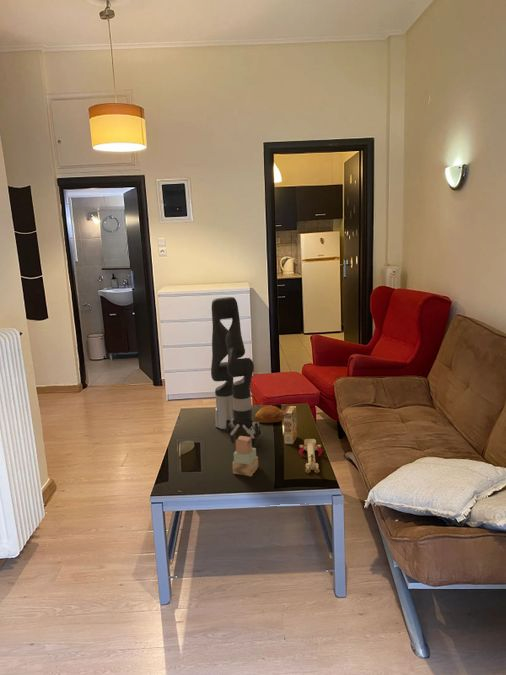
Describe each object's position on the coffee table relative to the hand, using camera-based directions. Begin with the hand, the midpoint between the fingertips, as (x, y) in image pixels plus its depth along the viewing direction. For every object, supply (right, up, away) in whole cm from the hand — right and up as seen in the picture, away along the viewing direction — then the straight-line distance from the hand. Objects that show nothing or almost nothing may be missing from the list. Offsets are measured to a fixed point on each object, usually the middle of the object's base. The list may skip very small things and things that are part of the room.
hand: (243, 444), depth 200 cm
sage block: (+1, -6, +1) cm, 7 cm away
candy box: (+21, -4, +29) cm, 36 cm away
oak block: (+1, -11, +2) cm, 12 cm away
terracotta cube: (0, -2, 0) cm, 3 cm away
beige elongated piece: (+29, -9, +10) cm, 31 cm away
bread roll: (+13, +1, +55) cm, 57 cm away
